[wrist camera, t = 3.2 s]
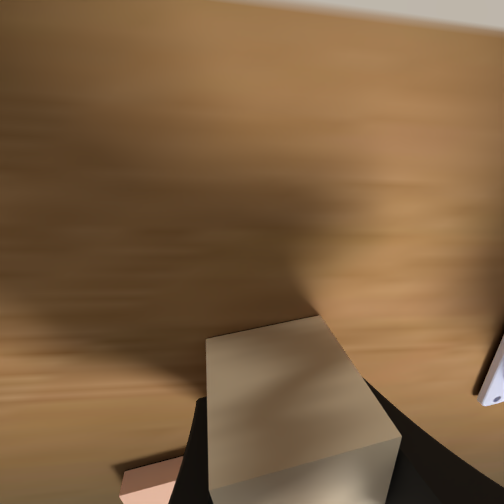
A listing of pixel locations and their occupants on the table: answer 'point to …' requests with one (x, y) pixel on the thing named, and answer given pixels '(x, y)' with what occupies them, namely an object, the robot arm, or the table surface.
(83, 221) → the table surface
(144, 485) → the salmon pink board
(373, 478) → the birch cube
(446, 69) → the table surface
